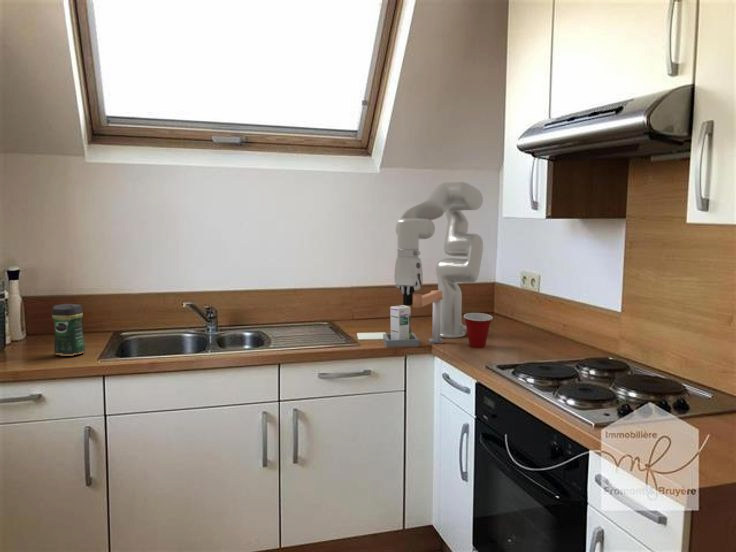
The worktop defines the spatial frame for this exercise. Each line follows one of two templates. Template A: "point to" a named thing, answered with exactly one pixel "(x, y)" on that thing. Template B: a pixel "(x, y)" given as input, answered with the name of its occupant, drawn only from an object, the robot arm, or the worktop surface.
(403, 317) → the syrup box
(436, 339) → the socket
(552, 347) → the worktop surface
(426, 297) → the orange bar
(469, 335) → the plastic cup
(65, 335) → the coffee jar
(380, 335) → the mat
